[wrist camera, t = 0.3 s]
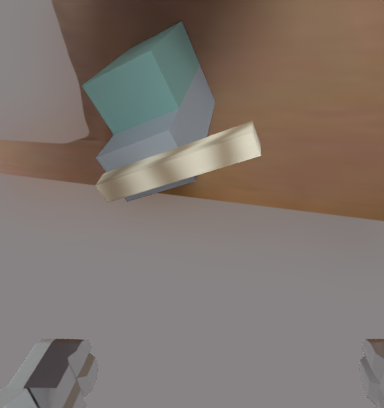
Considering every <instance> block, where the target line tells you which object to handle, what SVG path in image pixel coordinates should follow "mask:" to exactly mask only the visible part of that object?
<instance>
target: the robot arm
mask: <svg viewBox="0 0 384 408" xmlns="http://www.w3.org/2000/svg"><path fill="white" fill-rule="evenodd" d="M362 349H363V352H364V354H365V357H363V358H362V359H361V360H360V368H359V370H360V378H361V382H362V385H363V388H364V391H365V393H366V396H367V398H368V399H370V400H371V401H372V402H373V403H374V404H375V405H376V408H384V339H365V341H364V342H363V346H362ZM90 350H91V345H90V343H89V341H88V340H79V339H41V340H40V341H38V342H37V343H36V345H35V346H34V347H33V349H32V350H31V352H30V353H29V355H28V356H27V358H26V359H25V361H24V362H23V363H22V365H21V366H20V368H19V369H18V371H17V372H16V374H15V375H14V377H13V379H12V380H11V381H10V383H9V384H8V386H7V387H6V388H0V408H85V407H86V401H85V396H86V395H87V394H88V393H90V392H91V391H92V389H93V387H94V385H95V382H96V379H97V372H98V365H97V360H96V358H95V357H94V356H93V355H92V354H91V353H89V352H90Z"/></svg>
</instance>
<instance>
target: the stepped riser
mask: <svg viewBox="0 0 384 408" xmlns="http://www.w3.org/2000/svg"><path fill="white" fill-rule="evenodd" d="M82 87H83V88H84V90H85V92H86V93H87V95H88V96H89V98H90V99H91V101H92V102H93V104H94V105H95V107H96V108H97V110H98V112H99V113H100V115H101V116H102V118H103V119H104V121H105V122H106V124H107V125H108V127H109V129H110V130H111V132H112V133H113V136H112V138H111V139H110V140H109V142H108V143H107V144H106V146H105V147H104V148H103V149H102V151H101V152H100V153H99V155H98V156H97V157H96V159H97V160H98V161H99V163H100V164H101V166H102V167H103V168H104V170H105V171H106V173H107V172H110V171H112V170H115V169H118V168H121V167H124V166H126V165H129V164H132V163H135V162H138V161H141V160H143V159H146V158H149V157H152V156H155V155H158V154H160V153H163V152H166V151H169V150H172V149H175V148H177V147H180V146H183V145H186V144H189V143H192V142H194V141H197V140H200V139H203V138H206V137H207V134H208V130H209V126H210V122H211V118H212V114H213V110H214V106H215V100H214V98H213V95H212V93H211V91H210V88H209V86H208V83H207V81H206V78H205V76H204V74H203V71H202V69H201V66H200V64H199V61H198V59H197V57H196V54H195V52H194V49H193V47H192V45H191V42H190V40H189V37H188V35H187V32H186V30H185V28H184V25H183V23H182V21H181V22H179V23H177V24H175V25H173V26H171V27H169V28H168V29H166V30H164V31H162V32H160V33H158V34H156V35H154V36H153V37H151V38H149V39H147V40H145V41H143V42H141V43H139V44H137V45H136V46H134V47H132V48H130V49H129V50H127V51H126V52H125V53H123V54H122V55H121V56H120V57H118V58H117V59H116V60H114V61H113V62H112V63H110V64H109V65H108V66H106V67H105V68H104V69H103V70H101V71H100V72H99V73H97V74H96V75H95V76H93V77H92V78H91V79H90V80H88V81H87V82H86V83H84V84H83V85H82ZM196 178H197V175H196V176H193V177H189V178H186V179H183V180H180V181H176V182H173V183H170V184H166V185H163V186H160V187H157V188H153V189H150V190H147V191H144V192H140V193H137V194H134V195H130V196H127V197H124V198H125V199H126V200H127V201H131V200H134V199H137V198H141V197H144V196H148V195H151V194H154V193H158V192H161V191H164V190H168V189H171V188H175V187H178V186H181V185H185V184H188V183H191V182H195V181H196Z"/></svg>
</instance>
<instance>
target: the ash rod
mask: <svg viewBox="0 0 384 408" xmlns="http://www.w3.org/2000/svg"><path fill="white" fill-rule="evenodd" d="M258 156H261V147H260V141H259V138H258V135H257V132H256V129H255V127H254V124H253V121H251V122H248V123H245V124H242V125H240V126H237V127H234V128H231V129H228V130H226V131H223V132H220V133H217V134H214V135H211V136H209V137H206V138H203V139H200V140H197V141H194V142H192V143H189V144H186V145H183V146H180V147H177V148H175V149H172V150H169V151H166V152H163V153H160V154H158V155H155V156H152V157H149V158H146V159H143V160H141V161H138V162H135V163H132V164H129V165H126V166H124V167H121V168H118V169H115V170H112V171H110V172H107V173H104V174H103V175H102V176H101V178H100V179H99V181H98V182H97V184H96V185H95V187H96V188H97V189H98V191H99V192H100V193H101V195H102V196H103V197H104V199H105V200H106V201H107V202H111V201H114V200H117V199H121V198H124V197H127V196H130V195H134V194H137V193H140V192H144V191H147V190H150V189H153V188H157V187H160V186H163V185H166V184H170V183H173V182H176V181H180V180H183V179H186V178H189V177H193V176H196V175H199V174H202V173H206V172H209V171H212V170H216V169H219V168H222V167H225V166H229V165H232V164H235V163H239V162H242V161H245V160H248V159H252V158H255V157H258Z"/></svg>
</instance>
